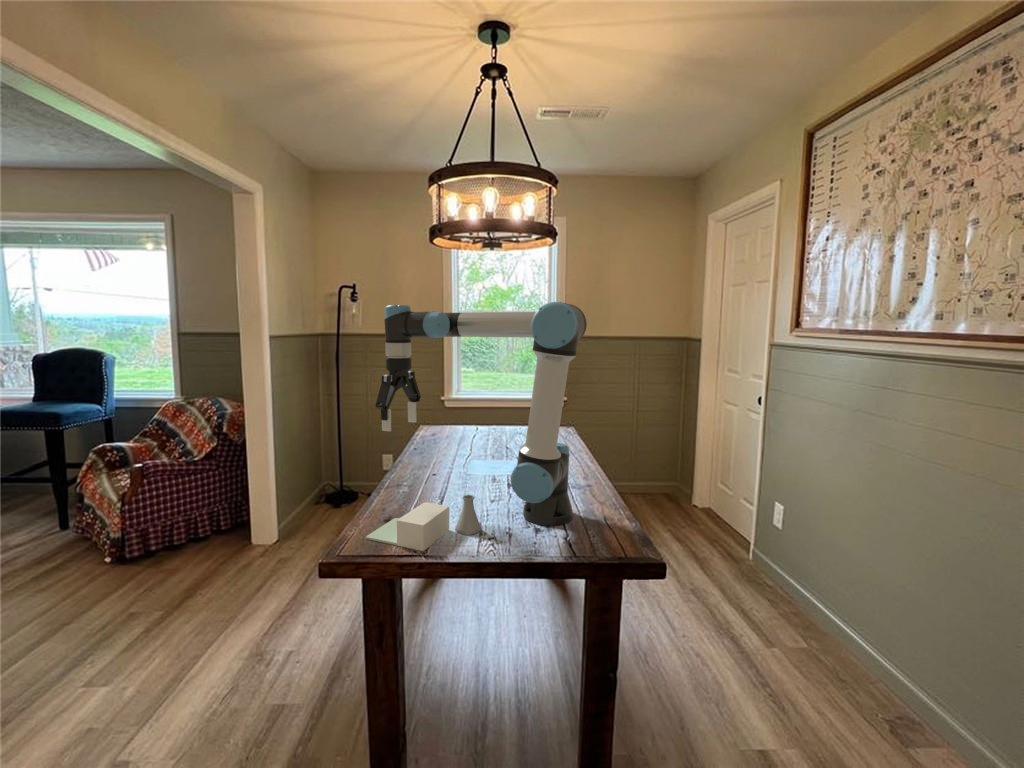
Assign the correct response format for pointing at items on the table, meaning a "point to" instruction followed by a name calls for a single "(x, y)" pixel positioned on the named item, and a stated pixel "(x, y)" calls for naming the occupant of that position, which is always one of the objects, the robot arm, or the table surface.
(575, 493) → the table surface
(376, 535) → the mat
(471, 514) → the flask
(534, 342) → the robot arm
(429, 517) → the block
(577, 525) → the table surface
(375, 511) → the table surface
